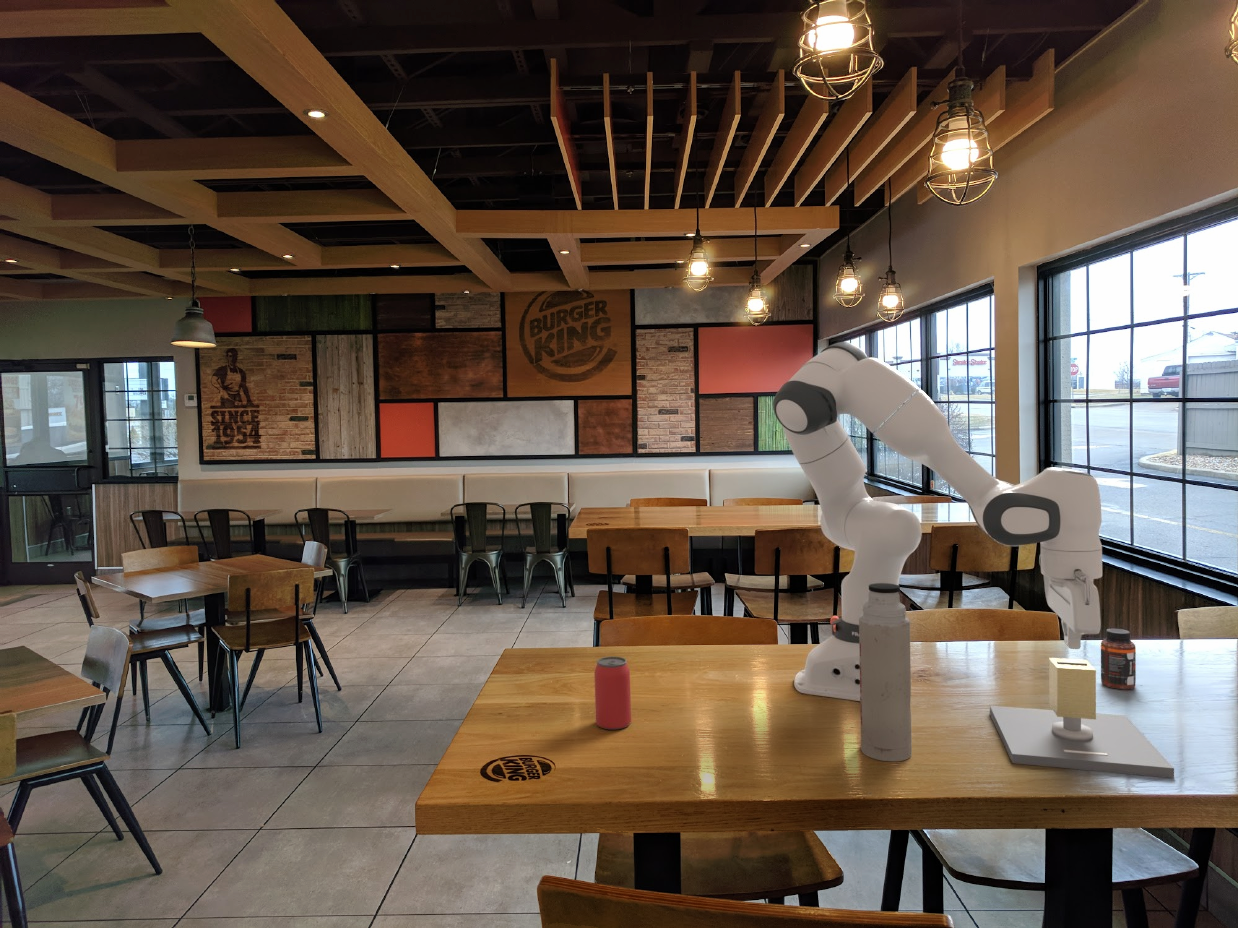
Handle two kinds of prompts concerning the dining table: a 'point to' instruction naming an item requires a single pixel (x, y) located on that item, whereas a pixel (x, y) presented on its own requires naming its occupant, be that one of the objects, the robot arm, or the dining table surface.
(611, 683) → the beer can
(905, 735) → the thermos bottle
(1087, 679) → the brushed gold block
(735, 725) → the dining table surface
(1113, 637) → the supplement bottle
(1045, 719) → the stud plate
